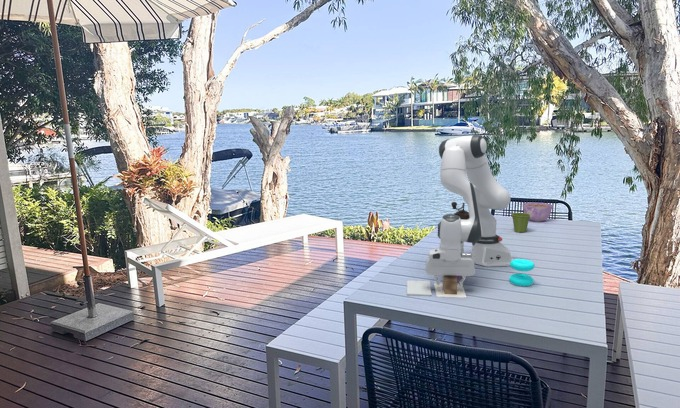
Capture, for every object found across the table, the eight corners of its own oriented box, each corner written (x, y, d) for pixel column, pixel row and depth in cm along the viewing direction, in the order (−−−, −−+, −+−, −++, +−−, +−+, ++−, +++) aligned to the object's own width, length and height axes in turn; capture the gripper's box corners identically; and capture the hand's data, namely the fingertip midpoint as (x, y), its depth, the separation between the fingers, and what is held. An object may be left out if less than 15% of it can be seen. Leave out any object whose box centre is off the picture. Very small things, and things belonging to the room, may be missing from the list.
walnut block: (454, 285, 193) (454, 272, 192) (456, 294, 183) (457, 280, 182) (442, 285, 194) (442, 272, 193) (444, 294, 184) (444, 280, 183)
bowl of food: (525, 223, 310) (526, 207, 308) (518, 217, 329) (519, 202, 327) (555, 223, 306) (556, 207, 304) (547, 217, 326) (548, 202, 324)
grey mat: (429, 283, 197) (429, 281, 197) (431, 296, 182) (431, 294, 182) (406, 282, 199) (406, 280, 199) (406, 296, 183) (407, 293, 183)
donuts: (538, 264, 189) (514, 265, 189) (537, 287, 190) (513, 287, 191) (529, 257, 198) (506, 258, 199) (528, 279, 200) (505, 279, 200)
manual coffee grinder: (456, 223, 313) (457, 198, 310) (472, 225, 307) (473, 199, 304) (449, 228, 300) (450, 202, 297) (465, 230, 294) (466, 203, 291)
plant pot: (531, 230, 289) (532, 213, 287) (528, 234, 279) (529, 217, 277) (512, 228, 295) (513, 212, 293) (508, 232, 286) (509, 215, 284)
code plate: (461, 284, 195) (461, 283, 195) (466, 298, 180) (466, 297, 180) (434, 283, 197) (434, 282, 197) (436, 297, 181) (436, 296, 181)
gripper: (474, 251, 187) (473, 283, 189) (425, 250, 190) (425, 281, 193) (476, 256, 181) (475, 288, 183) (426, 254, 184) (425, 286, 186)
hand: (449, 284), depth 188 cm, fingers open, 8 cm apart
